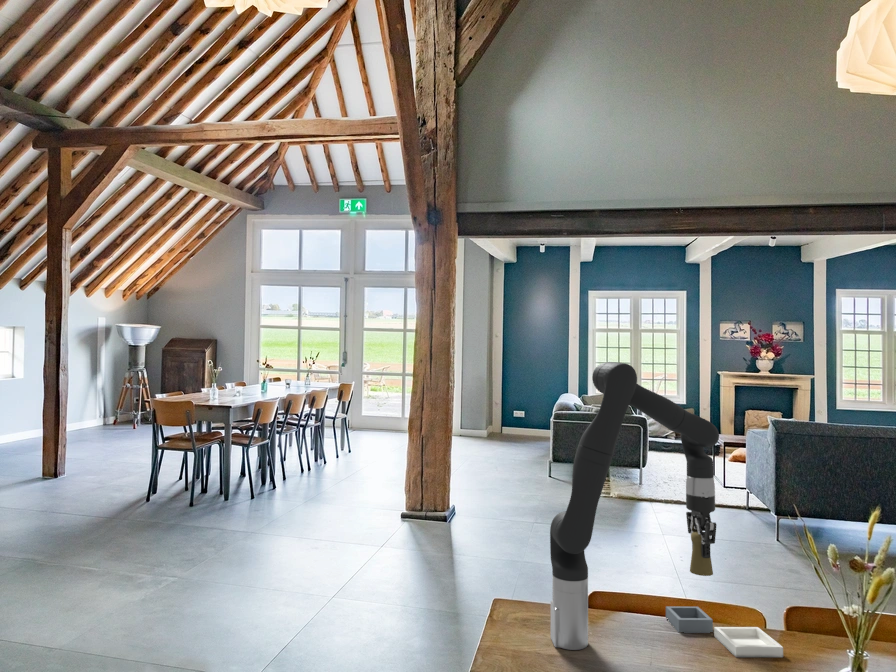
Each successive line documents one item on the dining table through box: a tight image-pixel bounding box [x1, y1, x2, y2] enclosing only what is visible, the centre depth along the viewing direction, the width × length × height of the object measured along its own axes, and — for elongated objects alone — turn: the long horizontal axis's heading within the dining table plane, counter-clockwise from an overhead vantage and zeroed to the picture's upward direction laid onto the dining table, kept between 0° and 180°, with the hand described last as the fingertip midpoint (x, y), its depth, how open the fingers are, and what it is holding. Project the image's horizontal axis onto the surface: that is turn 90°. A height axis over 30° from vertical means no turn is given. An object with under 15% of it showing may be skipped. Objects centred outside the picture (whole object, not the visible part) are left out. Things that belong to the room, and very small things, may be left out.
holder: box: [665, 605, 714, 634], centre depth 173 cm, size 9×9×4 cm
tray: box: [713, 626, 784, 658], centre depth 160 cm, size 12×12×2 cm
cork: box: [689, 531, 714, 577], centre depth 171 cm, size 6×6×11 cm
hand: (701, 554), depth 171 cm, fingers closed on cork, 5 cm apart
